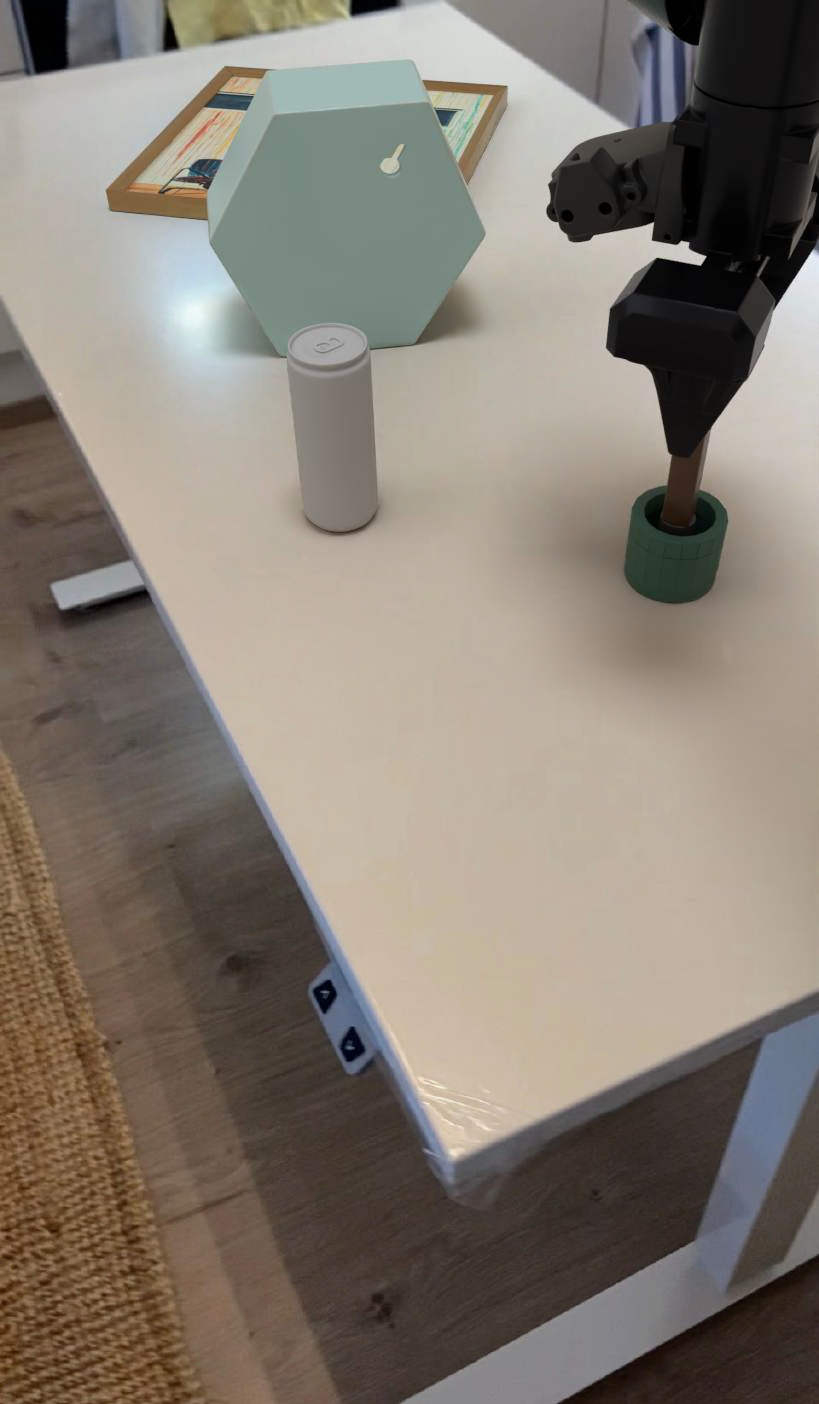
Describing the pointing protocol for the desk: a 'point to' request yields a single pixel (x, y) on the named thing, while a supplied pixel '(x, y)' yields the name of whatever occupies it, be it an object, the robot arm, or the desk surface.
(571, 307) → the desk surface
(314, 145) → the mint green hexagonal prism
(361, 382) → the beverage can
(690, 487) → the brown lever handle
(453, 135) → the picture frame
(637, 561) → the green round lever base
